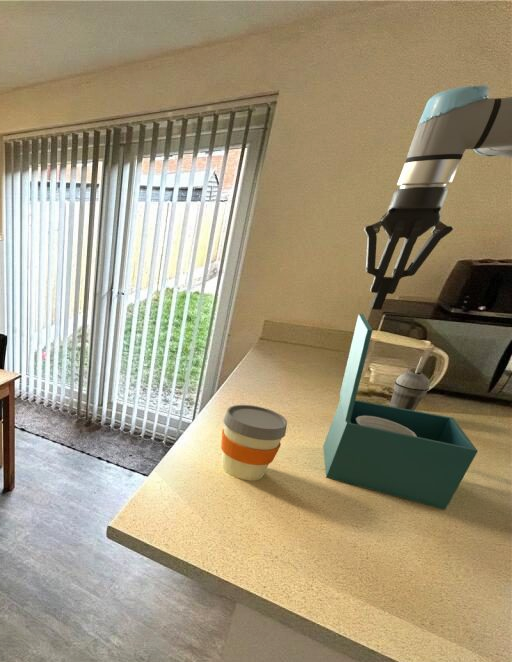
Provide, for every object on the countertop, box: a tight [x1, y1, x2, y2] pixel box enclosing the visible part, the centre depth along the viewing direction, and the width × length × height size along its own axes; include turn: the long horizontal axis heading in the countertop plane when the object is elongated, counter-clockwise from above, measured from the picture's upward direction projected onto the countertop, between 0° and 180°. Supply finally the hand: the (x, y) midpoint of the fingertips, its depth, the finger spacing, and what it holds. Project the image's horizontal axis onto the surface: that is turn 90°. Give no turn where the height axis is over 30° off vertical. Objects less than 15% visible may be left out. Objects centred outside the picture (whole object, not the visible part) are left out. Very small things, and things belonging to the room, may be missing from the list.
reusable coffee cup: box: [220, 404, 288, 481], centre depth 94 cm, size 13×13×15 cm
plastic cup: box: [356, 416, 417, 437], centre depth 93 cm, size 11×11×12 cm
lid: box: [339, 313, 373, 422], centre depth 90 cm, size 21×17×1 cm
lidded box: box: [322, 398, 478, 510], centre depth 92 cm, size 20×17×15 cm
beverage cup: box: [389, 356, 431, 411], centre depth 115 cm, size 7×7×20 cm
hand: (375, 308), depth 85 cm, fingers closed
